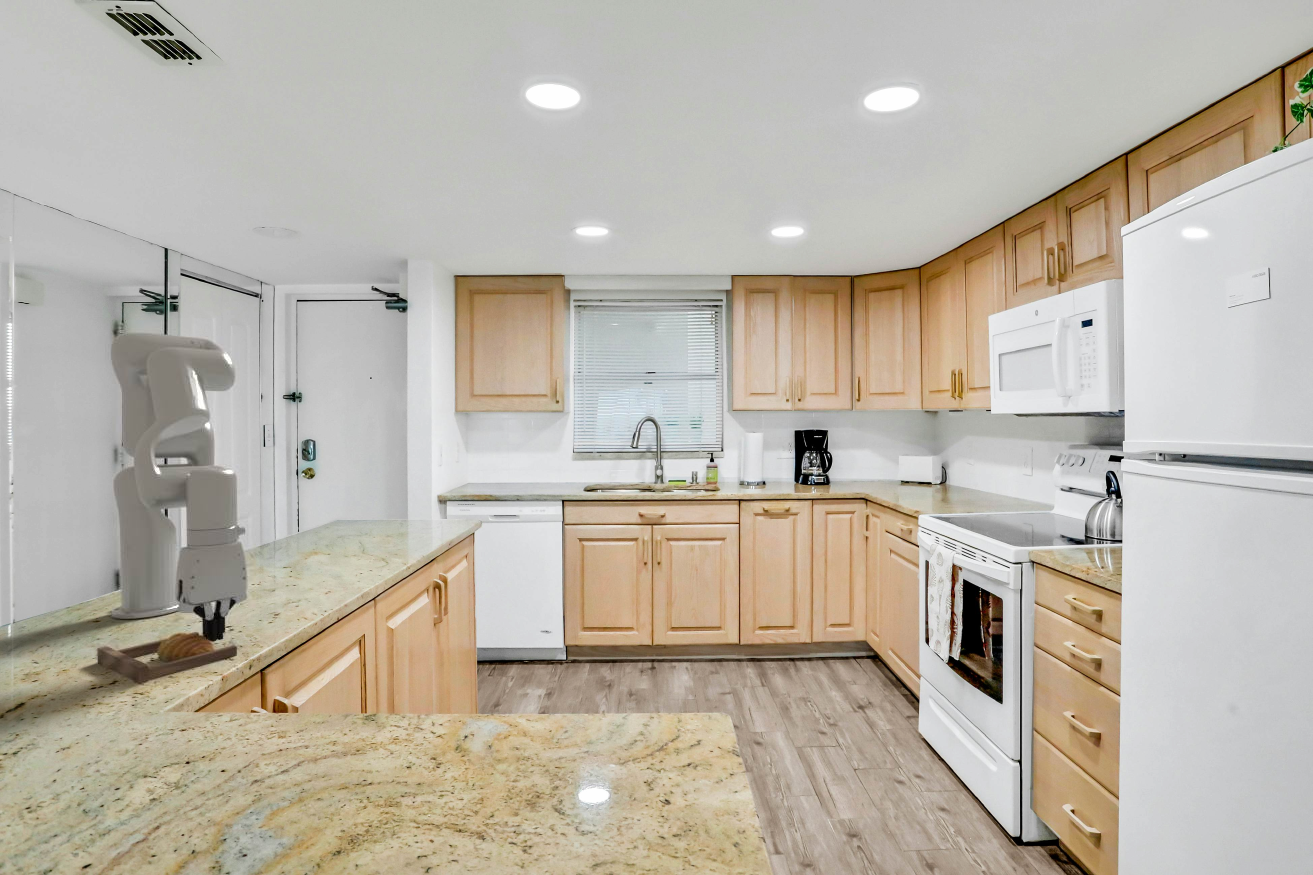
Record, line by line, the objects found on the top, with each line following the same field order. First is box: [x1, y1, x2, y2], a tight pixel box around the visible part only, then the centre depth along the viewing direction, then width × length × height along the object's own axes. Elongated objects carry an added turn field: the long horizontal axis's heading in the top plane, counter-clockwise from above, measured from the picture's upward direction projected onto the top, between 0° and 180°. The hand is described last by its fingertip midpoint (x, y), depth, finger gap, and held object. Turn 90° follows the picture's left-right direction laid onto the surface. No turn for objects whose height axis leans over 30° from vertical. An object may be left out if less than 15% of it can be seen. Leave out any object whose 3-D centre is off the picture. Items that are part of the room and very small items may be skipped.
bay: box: [96, 631, 238, 685], centre depth 109 cm, size 17×14×2 cm
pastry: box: [156, 632, 215, 663], centre depth 110 cm, size 9×7×4 cm
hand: (214, 638), depth 115 cm, fingers closed
